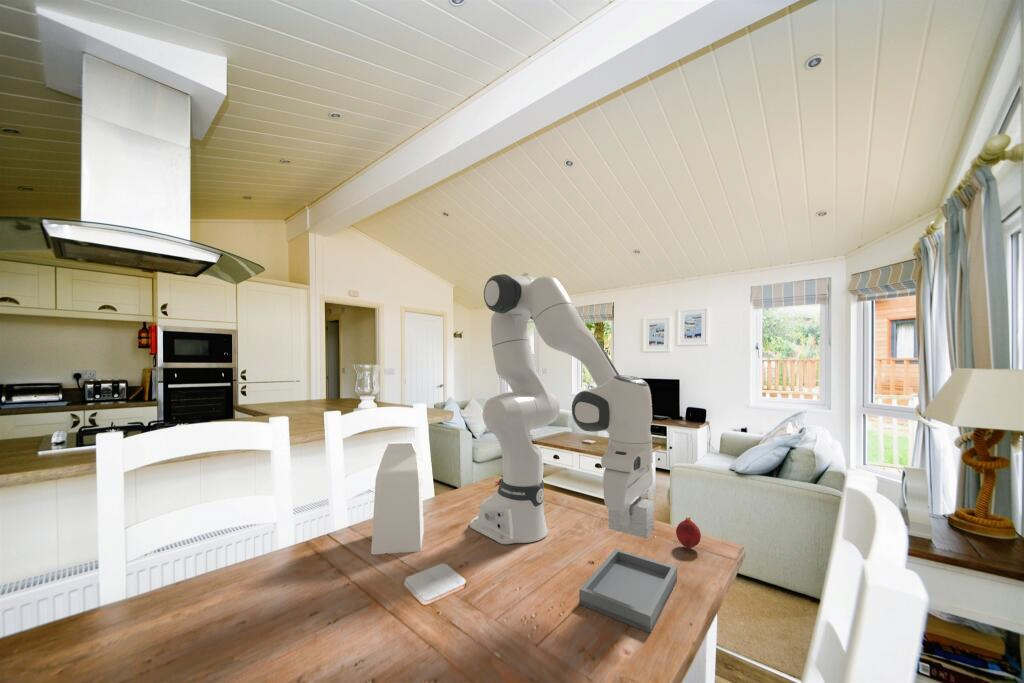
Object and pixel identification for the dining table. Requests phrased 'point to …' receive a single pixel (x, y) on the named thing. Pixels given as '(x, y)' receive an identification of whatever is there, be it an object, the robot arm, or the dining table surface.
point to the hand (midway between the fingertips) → (630, 518)
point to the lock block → (635, 519)
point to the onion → (688, 533)
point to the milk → (398, 501)
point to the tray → (629, 589)
